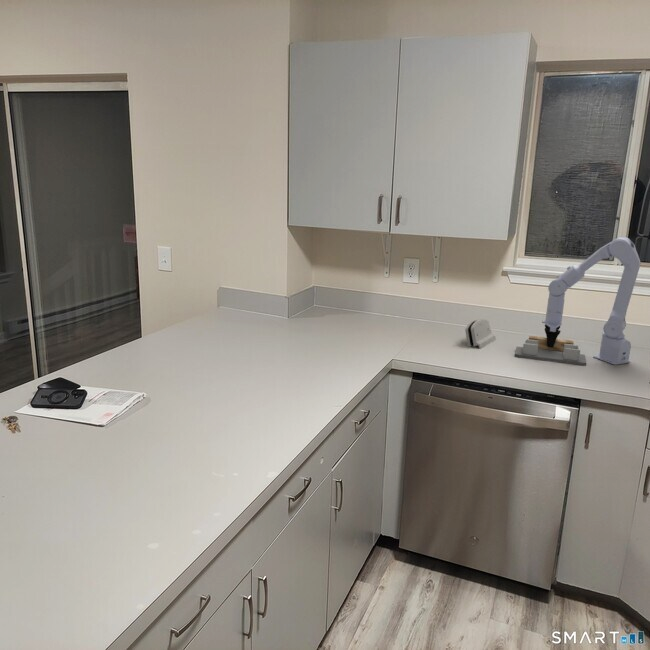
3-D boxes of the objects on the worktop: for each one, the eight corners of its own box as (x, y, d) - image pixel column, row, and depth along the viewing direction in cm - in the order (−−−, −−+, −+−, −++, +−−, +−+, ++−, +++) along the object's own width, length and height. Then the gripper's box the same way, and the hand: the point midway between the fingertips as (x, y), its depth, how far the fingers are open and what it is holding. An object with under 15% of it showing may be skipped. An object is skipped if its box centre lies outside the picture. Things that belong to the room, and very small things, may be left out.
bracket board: (584, 357, 215) (586, 344, 214) (586, 365, 206) (587, 352, 205) (516, 348, 223) (517, 336, 222) (514, 356, 214) (516, 344, 213)
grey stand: (480, 349, 222) (474, 323, 221) (468, 350, 225) (462, 325, 224) (496, 339, 235) (490, 315, 234) (485, 341, 238) (479, 317, 237)
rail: (571, 350, 224) (573, 340, 223) (572, 353, 221) (573, 343, 220) (527, 345, 229) (529, 335, 228) (527, 347, 226) (528, 337, 225)
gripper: (543, 305, 229) (539, 338, 232) (543, 313, 215) (538, 349, 219) (563, 307, 226) (558, 340, 230) (563, 316, 213) (559, 351, 217)
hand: (550, 345), depth 224 cm, fingers open, 5 cm apart
